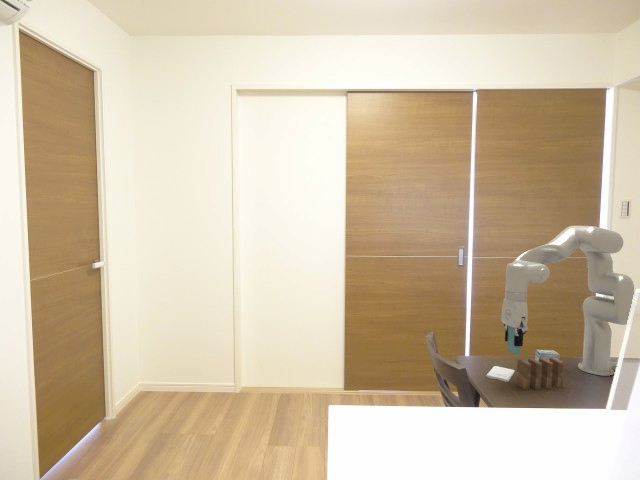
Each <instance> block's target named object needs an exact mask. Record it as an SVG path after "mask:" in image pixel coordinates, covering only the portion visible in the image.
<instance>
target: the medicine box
mask: <svg viewBox="0 0 640 480" xmlns="http://www.w3.org/2000/svg"><path fill="white" fill-rule="evenodd" d="M560 355H561V354H559V353H558V352H557V351H556V350H552V349H550V350H548V349H535V353H534V356H535V357H534V359H535V360H537V361H538V362H539V358H544V359H546V360H548V361H550V358H556V359H558V360H560Z"/></svg>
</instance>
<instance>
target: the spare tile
mask: <svg viewBox="0 0 640 480" xmlns="http://www.w3.org/2000/svg"><path fill="white" fill-rule="evenodd" d="M520 330H521V329H518V332H519V331H520ZM514 335H516V334H515V328H513V327H510V326H508V341H507V342H506V344H507V345H506V350H507V351H508V352H510V353H511V354H513V355H521V346H514Z"/></svg>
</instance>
